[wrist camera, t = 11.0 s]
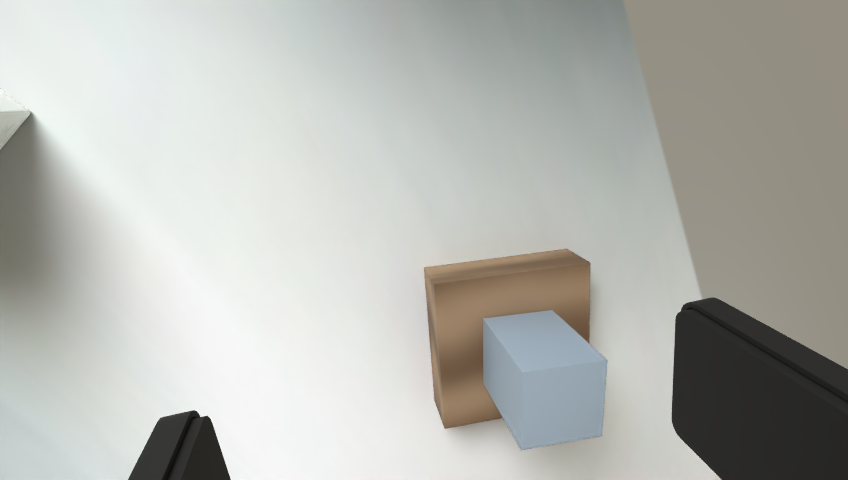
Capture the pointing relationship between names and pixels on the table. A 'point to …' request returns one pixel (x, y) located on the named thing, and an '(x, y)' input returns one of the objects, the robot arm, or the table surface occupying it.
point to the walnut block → (492, 297)
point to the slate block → (543, 378)
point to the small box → (10, 116)
